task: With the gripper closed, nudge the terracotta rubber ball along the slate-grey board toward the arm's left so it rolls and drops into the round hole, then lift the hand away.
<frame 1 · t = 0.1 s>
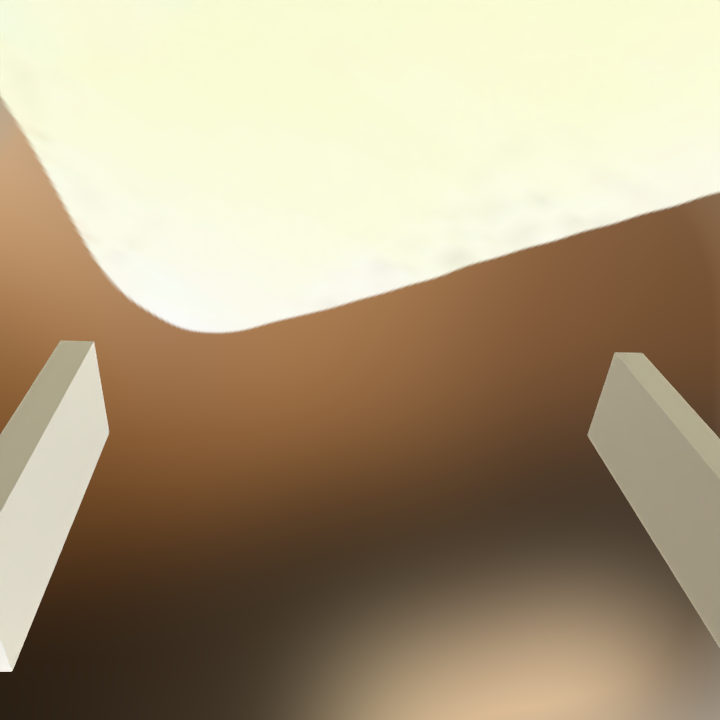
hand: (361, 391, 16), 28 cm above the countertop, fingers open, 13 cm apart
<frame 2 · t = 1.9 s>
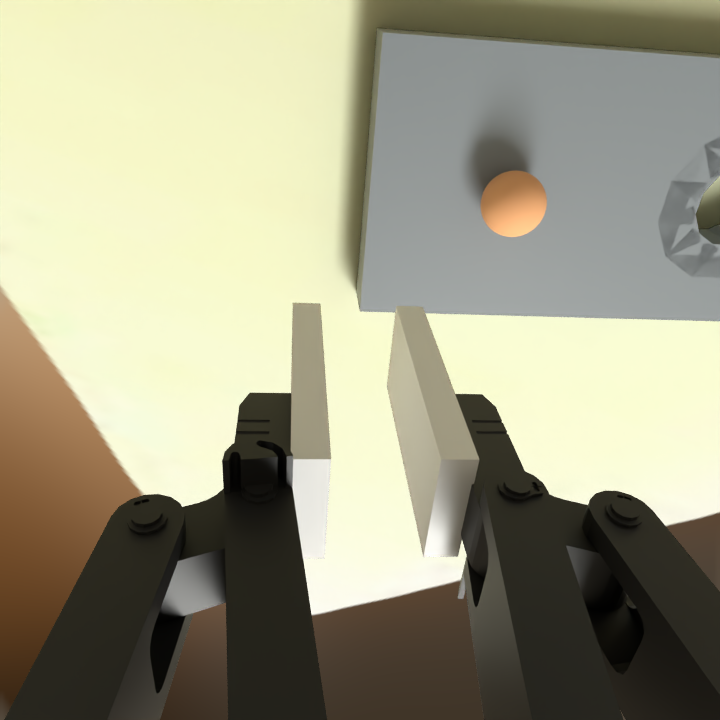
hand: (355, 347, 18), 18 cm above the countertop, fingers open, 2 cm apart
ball: (513, 204, 31), point 4 cm above the countertop, touching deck
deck: (612, 186, 36), on the countertop
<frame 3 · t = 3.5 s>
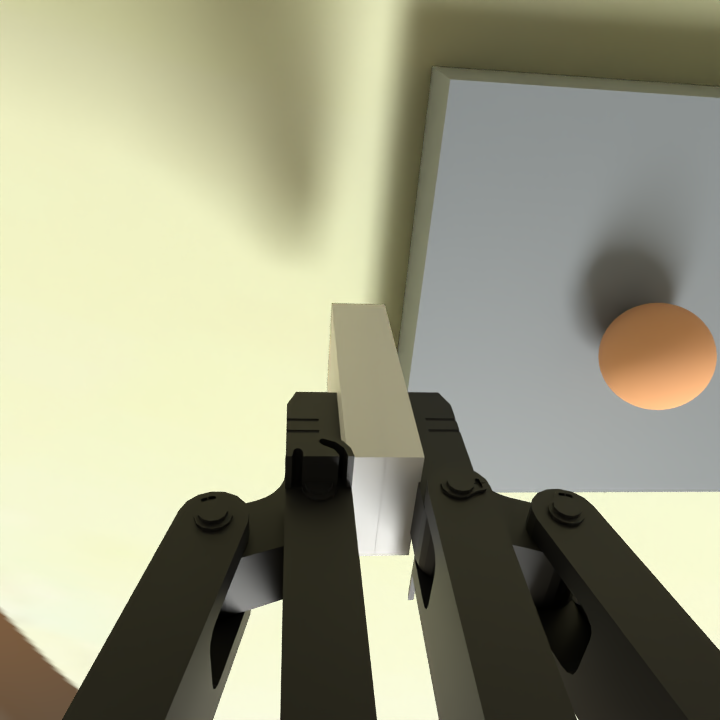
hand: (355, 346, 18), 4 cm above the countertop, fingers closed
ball: (655, 356, 19), point 4 cm above the countertop, touching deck
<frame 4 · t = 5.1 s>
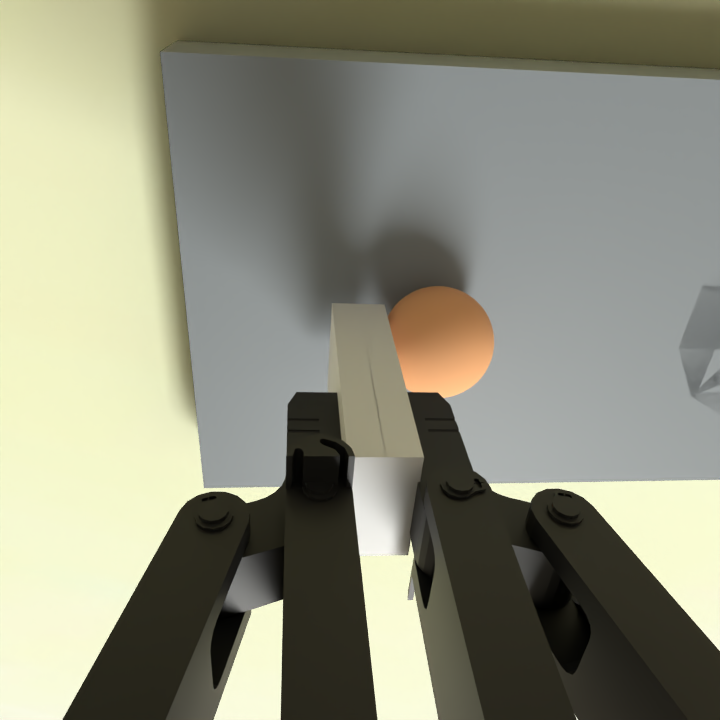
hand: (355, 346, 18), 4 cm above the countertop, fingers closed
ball: (437, 342, 18), point 4 cm above the countertop, tilted 7°, touching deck
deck: (604, 283, 22), on the countertop
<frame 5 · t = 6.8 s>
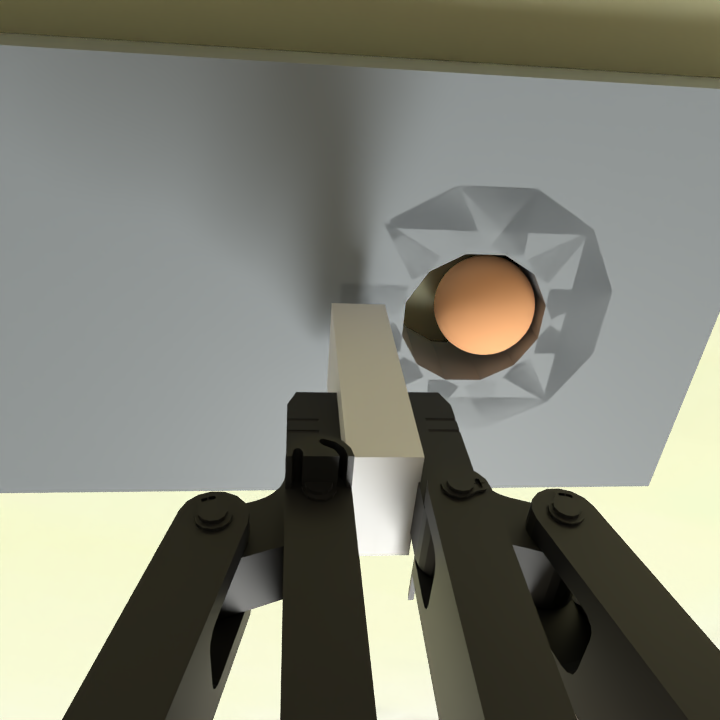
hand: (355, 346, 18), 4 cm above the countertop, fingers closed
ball: (483, 305, 20), point 2 cm above the countertop, tilted 155°
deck: (280, 282, 21), on the countertop
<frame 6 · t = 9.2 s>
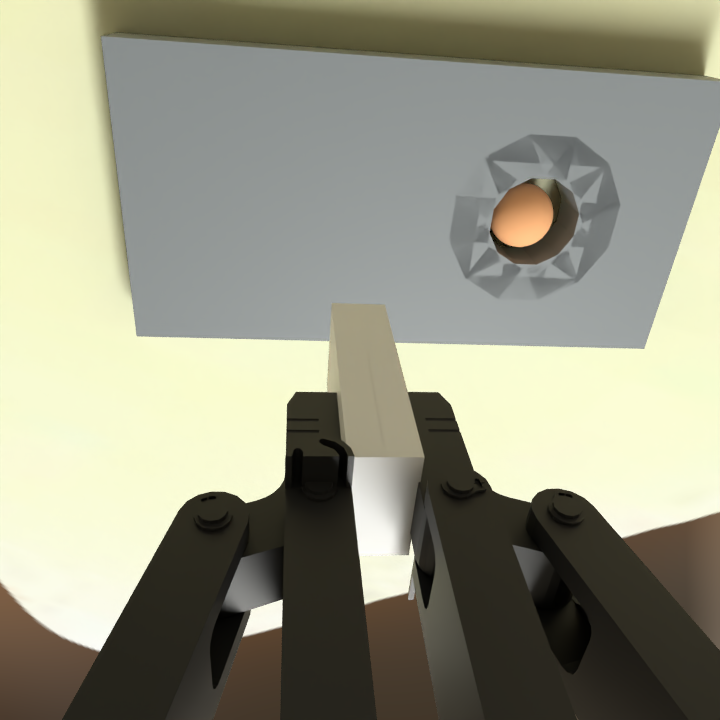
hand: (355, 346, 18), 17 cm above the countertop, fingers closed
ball: (520, 215, 32), point 2 cm above the countertop, tilted 123°
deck: (408, 202, 33), on the countertop
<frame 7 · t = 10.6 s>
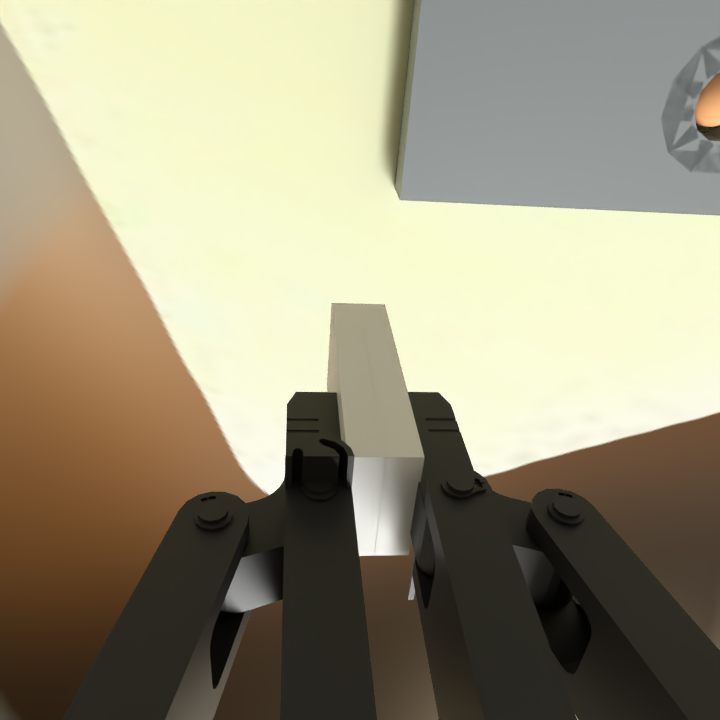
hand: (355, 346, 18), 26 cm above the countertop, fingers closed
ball: (714, 99, 40), point 2 cm above the countertop, tilted 119°
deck: (621, 91, 41), on the countertop
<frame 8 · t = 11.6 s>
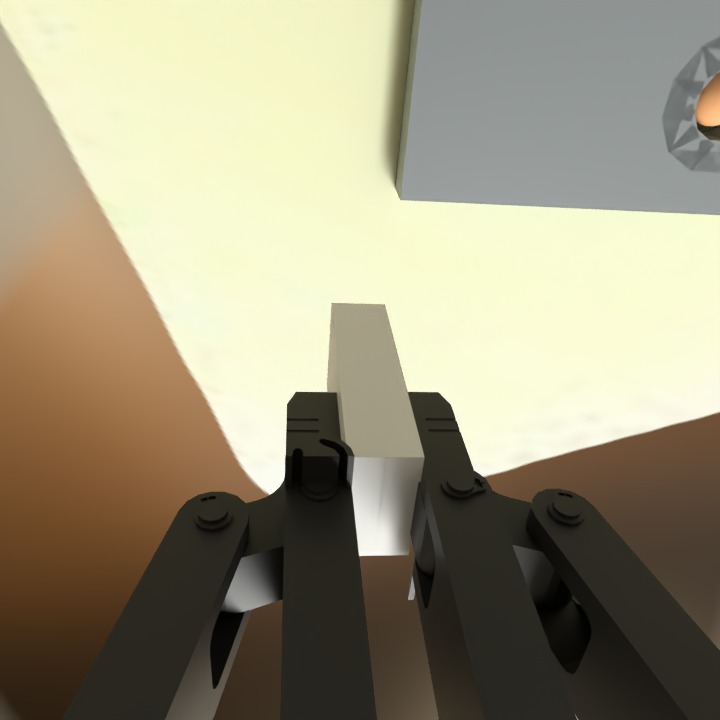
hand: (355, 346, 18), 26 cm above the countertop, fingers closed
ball: (715, 99, 40), point 2 cm above the countertop, tilted 120°
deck: (621, 90, 41), on the countertop
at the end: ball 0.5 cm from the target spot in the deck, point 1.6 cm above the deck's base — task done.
